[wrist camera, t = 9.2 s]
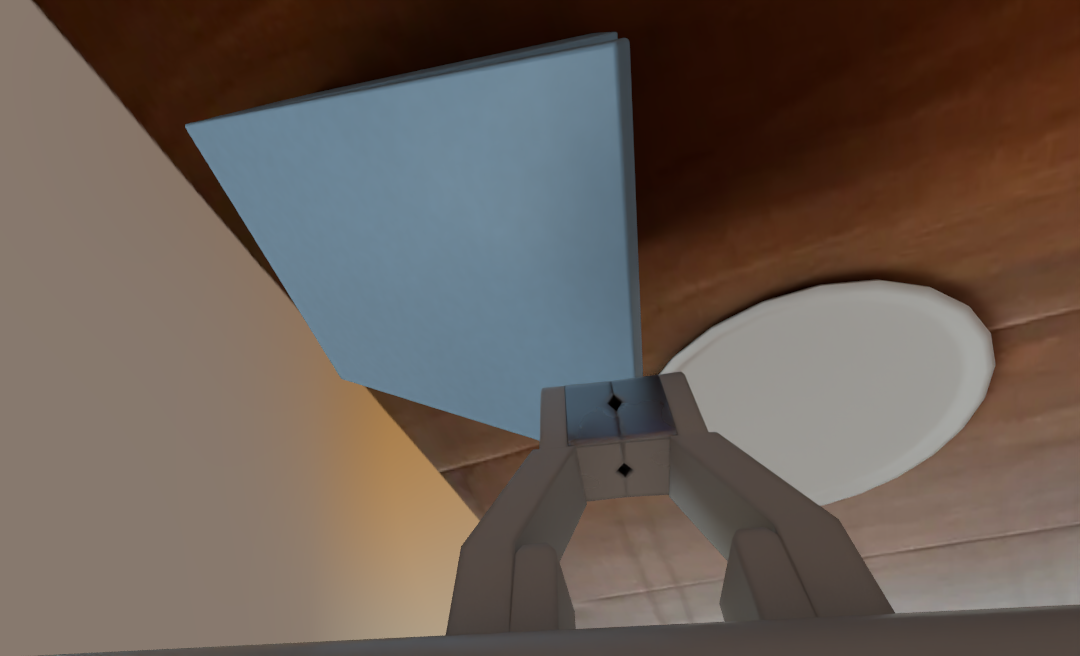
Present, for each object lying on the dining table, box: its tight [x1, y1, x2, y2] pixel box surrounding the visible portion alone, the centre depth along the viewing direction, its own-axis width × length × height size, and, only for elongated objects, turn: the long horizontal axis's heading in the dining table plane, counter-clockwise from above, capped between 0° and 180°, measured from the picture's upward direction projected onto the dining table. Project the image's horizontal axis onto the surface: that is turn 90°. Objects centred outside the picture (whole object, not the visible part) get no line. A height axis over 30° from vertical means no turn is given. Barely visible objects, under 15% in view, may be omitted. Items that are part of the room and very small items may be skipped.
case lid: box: [185, 38, 643, 441], centre depth 15 cm, size 17×13×1 cm
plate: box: [660, 279, 995, 506], centre depth 37 cm, size 29×29×1 cm
